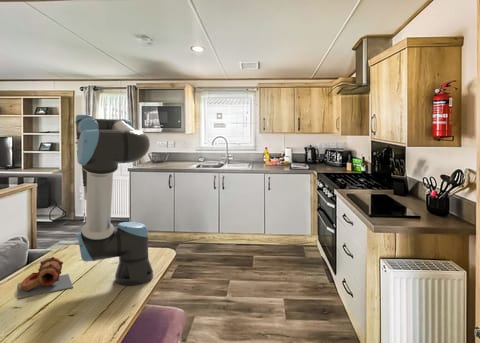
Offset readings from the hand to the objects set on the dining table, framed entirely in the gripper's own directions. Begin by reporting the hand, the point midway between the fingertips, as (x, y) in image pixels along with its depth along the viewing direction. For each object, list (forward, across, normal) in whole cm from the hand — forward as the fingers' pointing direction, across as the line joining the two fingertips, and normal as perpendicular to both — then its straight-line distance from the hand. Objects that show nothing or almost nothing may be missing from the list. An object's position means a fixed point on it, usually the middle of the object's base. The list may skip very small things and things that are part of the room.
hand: (87, 199), depth 164 cm
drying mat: (+29, +22, -20) cm, 42 cm away
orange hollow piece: (+25, +12, -19) cm, 34 cm away
